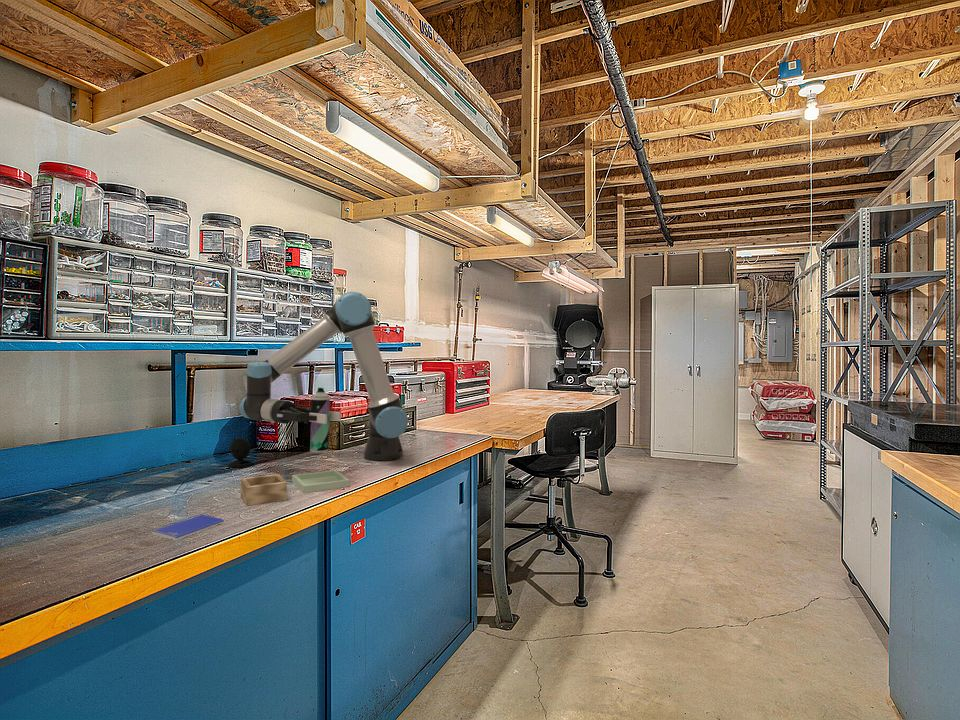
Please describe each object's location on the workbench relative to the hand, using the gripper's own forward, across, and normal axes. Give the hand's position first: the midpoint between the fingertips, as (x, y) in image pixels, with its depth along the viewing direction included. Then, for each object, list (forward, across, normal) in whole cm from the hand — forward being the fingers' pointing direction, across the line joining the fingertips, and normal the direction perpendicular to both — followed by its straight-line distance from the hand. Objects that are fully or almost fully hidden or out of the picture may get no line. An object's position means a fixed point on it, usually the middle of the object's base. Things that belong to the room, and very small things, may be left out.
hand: (333, 418), depth 156 cm
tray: (-5, 0, -21) cm, 22 cm away
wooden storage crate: (-9, +18, -22) cm, 30 cm away
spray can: (-5, 0, -11) cm, 12 cm away
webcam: (-45, -3, -22) cm, 50 cm away
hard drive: (-4, +43, -22) cm, 49 cm away
